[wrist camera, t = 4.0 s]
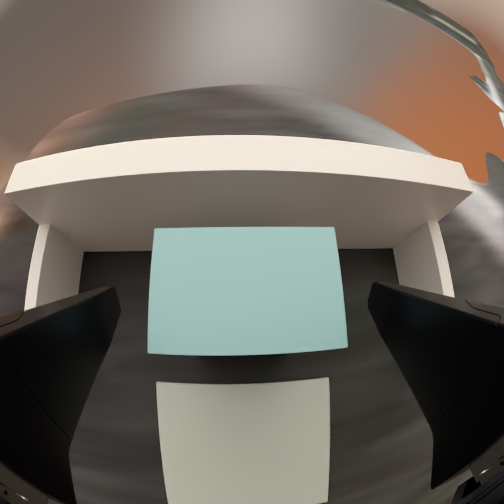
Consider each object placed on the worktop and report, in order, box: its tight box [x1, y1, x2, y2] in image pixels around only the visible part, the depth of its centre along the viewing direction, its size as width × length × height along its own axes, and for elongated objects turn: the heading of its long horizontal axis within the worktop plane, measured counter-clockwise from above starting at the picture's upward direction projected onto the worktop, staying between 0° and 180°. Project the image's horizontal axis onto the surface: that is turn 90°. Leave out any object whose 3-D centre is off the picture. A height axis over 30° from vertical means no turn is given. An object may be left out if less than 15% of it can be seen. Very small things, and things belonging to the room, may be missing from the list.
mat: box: [156, 377, 330, 504], centre depth 14 cm, size 10×11×1 cm
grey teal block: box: [148, 227, 348, 356], centre depth 13 cm, size 4×6×10 cm, turn 92°
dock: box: [4, 135, 473, 312], centre depth 14 cm, size 12×26×9 cm, turn 92°
